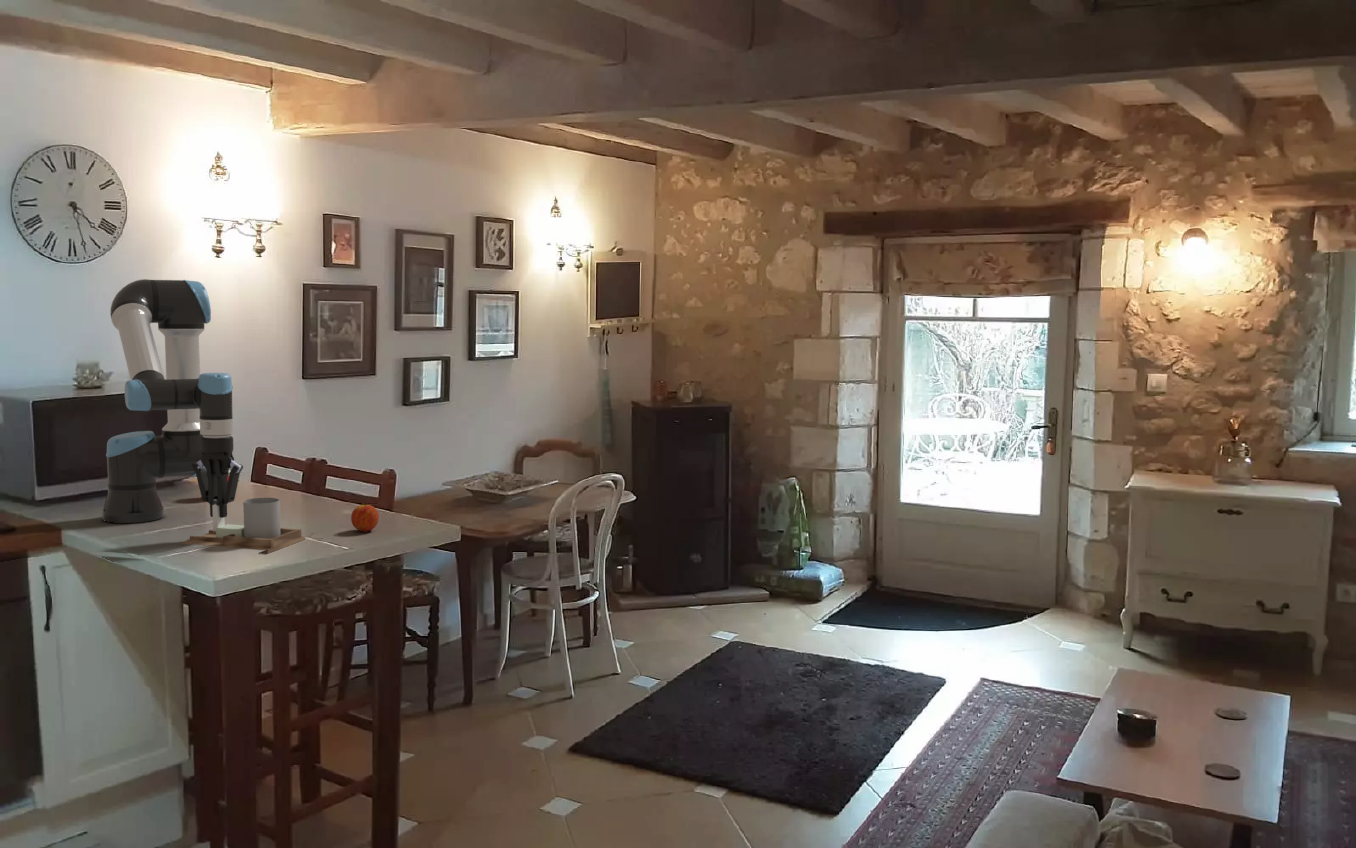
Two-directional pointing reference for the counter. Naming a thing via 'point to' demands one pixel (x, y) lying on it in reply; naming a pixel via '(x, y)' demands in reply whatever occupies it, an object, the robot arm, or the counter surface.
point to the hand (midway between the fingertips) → (219, 530)
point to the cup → (262, 518)
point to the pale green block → (230, 530)
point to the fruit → (364, 517)
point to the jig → (250, 540)
